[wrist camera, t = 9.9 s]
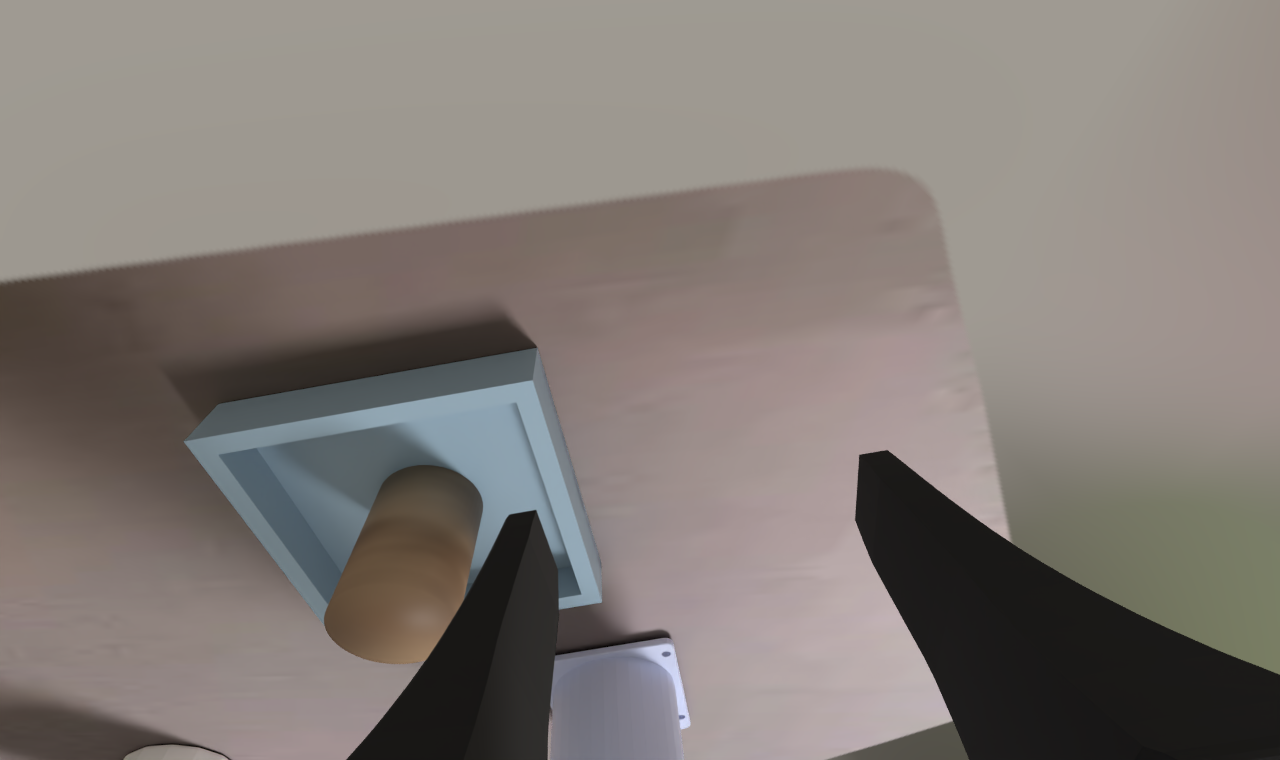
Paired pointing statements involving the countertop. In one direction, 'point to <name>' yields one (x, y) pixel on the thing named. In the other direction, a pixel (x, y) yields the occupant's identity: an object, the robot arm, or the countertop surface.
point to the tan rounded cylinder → (407, 566)
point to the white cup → (173, 753)
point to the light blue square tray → (399, 464)
